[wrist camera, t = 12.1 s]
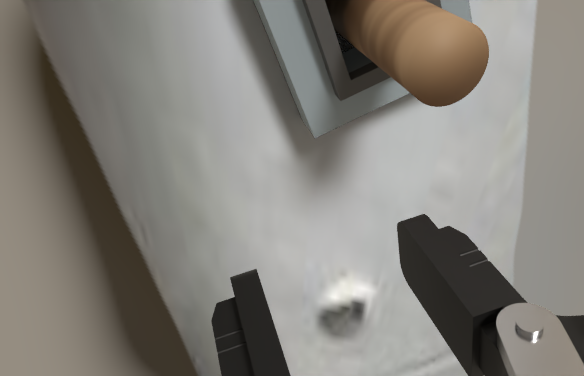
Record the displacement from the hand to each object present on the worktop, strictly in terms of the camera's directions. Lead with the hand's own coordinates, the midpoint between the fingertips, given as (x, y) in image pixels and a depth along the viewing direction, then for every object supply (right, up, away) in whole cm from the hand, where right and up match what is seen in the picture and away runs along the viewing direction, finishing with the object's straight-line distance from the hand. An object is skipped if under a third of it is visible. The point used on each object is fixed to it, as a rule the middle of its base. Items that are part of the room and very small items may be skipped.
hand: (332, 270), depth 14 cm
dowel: (+3, +14, +19) cm, 24 cm away
